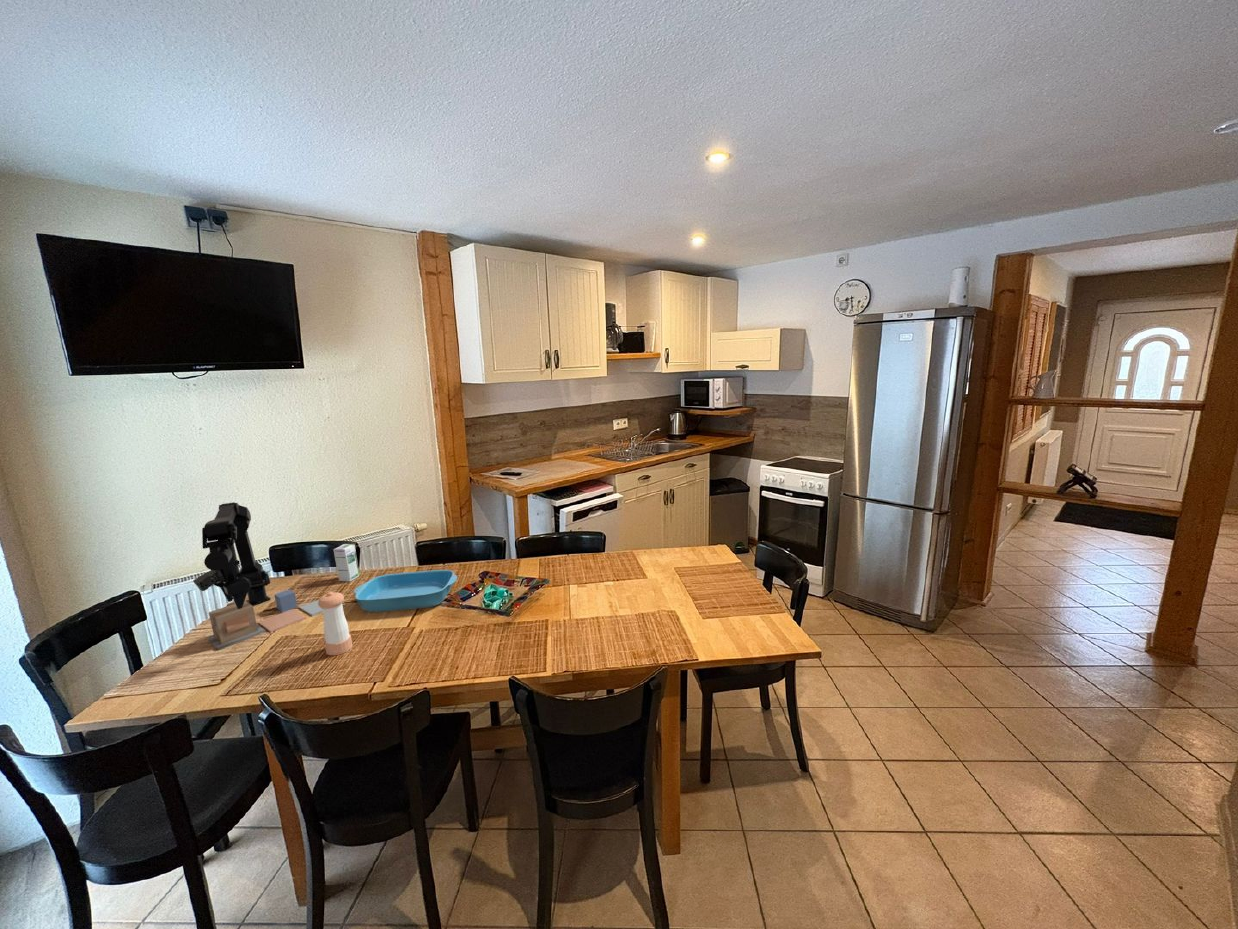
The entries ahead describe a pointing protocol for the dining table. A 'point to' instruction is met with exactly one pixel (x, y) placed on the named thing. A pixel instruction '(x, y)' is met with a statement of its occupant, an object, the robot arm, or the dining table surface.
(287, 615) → the terracotta mat
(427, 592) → the casserole dish
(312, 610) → the grey mat
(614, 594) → the dining table surface
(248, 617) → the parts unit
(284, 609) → the block
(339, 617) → the salt shaker
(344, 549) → the syrup box
